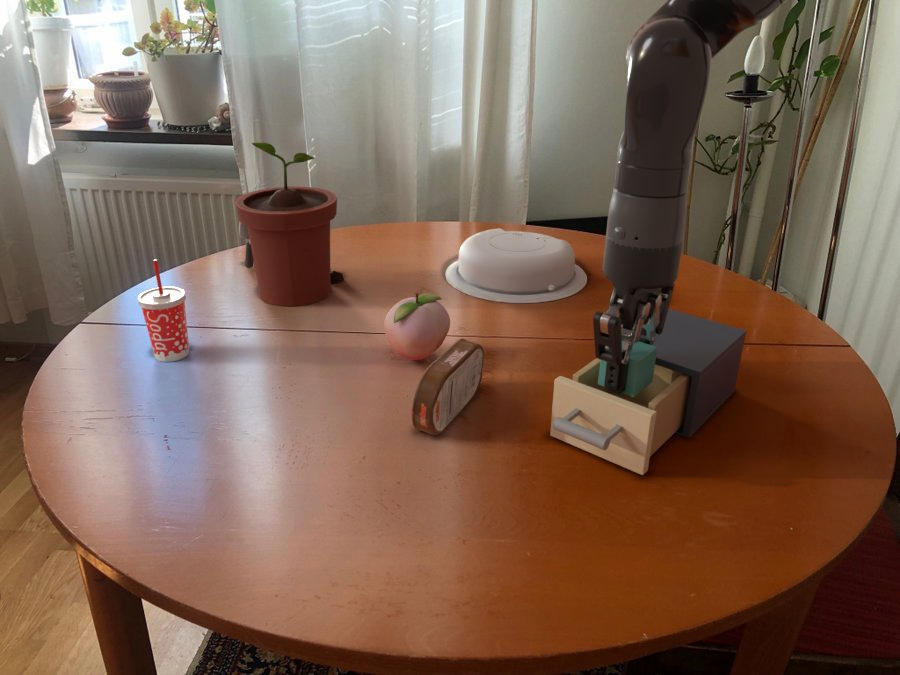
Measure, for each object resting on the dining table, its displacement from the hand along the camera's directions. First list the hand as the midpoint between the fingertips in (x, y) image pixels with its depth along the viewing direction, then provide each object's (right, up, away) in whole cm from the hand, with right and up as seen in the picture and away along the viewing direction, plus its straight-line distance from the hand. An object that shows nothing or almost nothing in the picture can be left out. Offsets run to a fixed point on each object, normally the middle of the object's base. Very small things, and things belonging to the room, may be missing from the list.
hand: (625, 380), depth 82 cm
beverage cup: (-58, +2, +22) cm, 62 cm away
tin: (-19, -5, +8) cm, 21 cm away
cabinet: (+7, -3, +11) cm, 14 cm away
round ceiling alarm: (-8, +16, +50) cm, 53 cm away
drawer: (-1, -7, +2) cm, 7 cm away
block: (0, 0, 0) cm, 0 cm away
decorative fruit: (-24, +2, +21) cm, 32 cm away
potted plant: (-46, +13, +45) cm, 66 cm away
